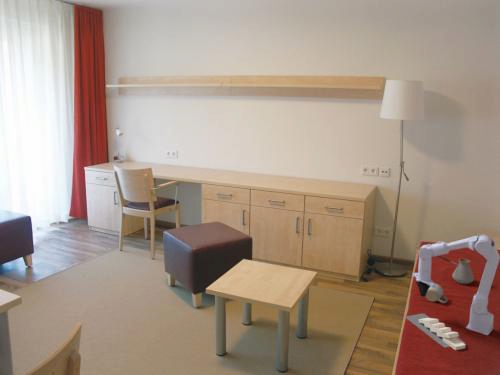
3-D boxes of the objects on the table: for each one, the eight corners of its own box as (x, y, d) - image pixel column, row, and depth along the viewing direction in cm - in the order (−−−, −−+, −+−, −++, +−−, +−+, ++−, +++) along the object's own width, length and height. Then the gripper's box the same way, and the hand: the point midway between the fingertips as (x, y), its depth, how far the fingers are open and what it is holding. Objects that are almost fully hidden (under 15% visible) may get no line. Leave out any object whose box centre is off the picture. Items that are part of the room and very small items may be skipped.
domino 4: (436, 332, 194) (448, 334, 187) (445, 330, 196) (457, 332, 188) (437, 336, 194) (449, 338, 186) (446, 334, 195) (458, 336, 188)
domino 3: (429, 327, 198) (441, 329, 191) (438, 326, 200) (450, 327, 192) (430, 331, 198) (442, 333, 190) (439, 329, 199) (451, 331, 192)
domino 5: (442, 337, 190) (455, 346, 183) (452, 335, 192) (465, 344, 184) (442, 340, 191) (455, 350, 183) (451, 338, 192) (465, 348, 184)
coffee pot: (472, 278, 254) (474, 254, 251) (475, 286, 243) (477, 261, 240) (432, 274, 260) (434, 251, 257) (434, 282, 250) (436, 258, 247)
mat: (404, 317, 212) (404, 316, 212) (423, 313, 215) (423, 313, 214) (444, 348, 185) (444, 347, 185) (465, 343, 188) (465, 343, 188)
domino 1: (418, 319, 206) (429, 320, 198) (427, 317, 207) (438, 319, 200) (419, 322, 206) (429, 324, 198) (427, 321, 207) (439, 322, 199)
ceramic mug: (423, 300, 228) (424, 287, 227) (427, 294, 235) (428, 281, 233) (445, 306, 222) (446, 292, 221) (448, 299, 229) (449, 286, 227)
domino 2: (423, 323, 202) (435, 325, 195) (433, 321, 203) (444, 323, 196) (424, 327, 202) (435, 328, 194) (433, 325, 203) (445, 326, 196)
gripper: (408, 265, 214) (406, 290, 217) (427, 276, 200) (425, 303, 203) (420, 263, 216) (418, 288, 219) (440, 274, 202) (438, 301, 205)
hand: (422, 295), depth 211 cm, fingers closed
